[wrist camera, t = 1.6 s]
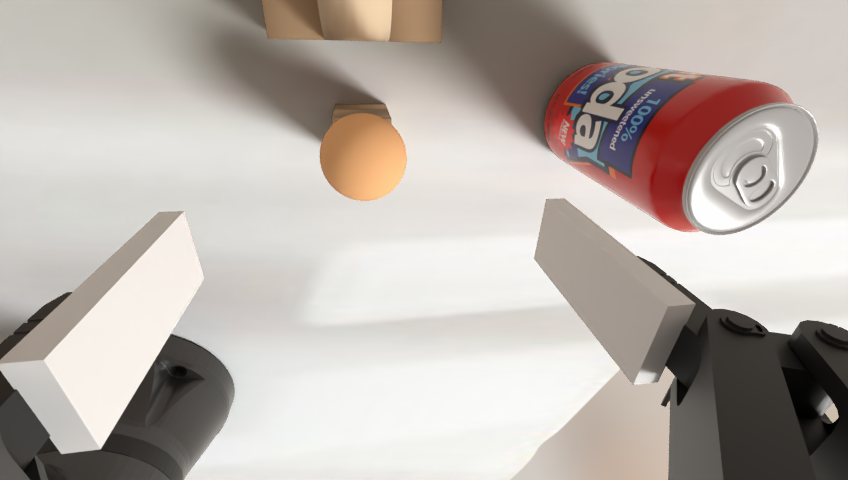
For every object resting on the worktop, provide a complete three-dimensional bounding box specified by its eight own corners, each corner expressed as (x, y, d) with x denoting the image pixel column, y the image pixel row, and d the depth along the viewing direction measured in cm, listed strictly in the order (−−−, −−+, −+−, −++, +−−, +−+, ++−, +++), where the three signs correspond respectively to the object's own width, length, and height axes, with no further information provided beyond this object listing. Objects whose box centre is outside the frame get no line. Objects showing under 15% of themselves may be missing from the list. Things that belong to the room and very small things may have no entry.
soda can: (571, 178, 33) (709, 273, 20) (519, 116, 30) (645, 182, 17) (646, 111, 31) (851, 169, 18) (600, 36, 28) (812, 42, 15)
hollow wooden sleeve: (339, 153, 29) (336, 176, 24) (335, 104, 27) (331, 119, 23) (386, 152, 29) (392, 174, 25) (385, 104, 28) (391, 118, 23)
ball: (327, 184, 25) (321, 216, 21) (318, 106, 22) (310, 124, 18) (402, 182, 26) (411, 212, 21) (401, 105, 23) (411, 122, 19)
